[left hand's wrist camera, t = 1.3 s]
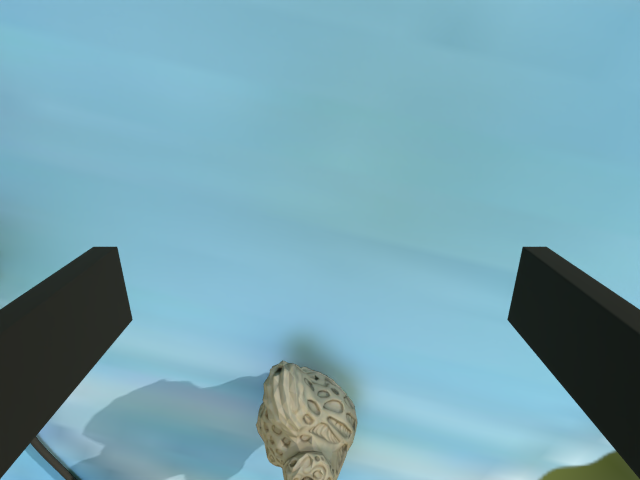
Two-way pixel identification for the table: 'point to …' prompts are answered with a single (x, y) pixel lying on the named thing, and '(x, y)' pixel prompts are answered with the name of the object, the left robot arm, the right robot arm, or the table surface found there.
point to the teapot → (305, 423)
